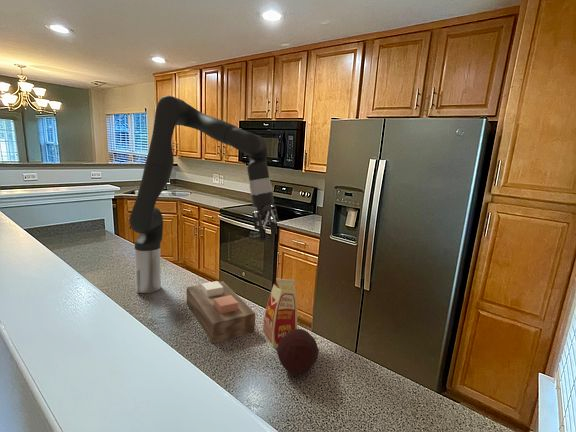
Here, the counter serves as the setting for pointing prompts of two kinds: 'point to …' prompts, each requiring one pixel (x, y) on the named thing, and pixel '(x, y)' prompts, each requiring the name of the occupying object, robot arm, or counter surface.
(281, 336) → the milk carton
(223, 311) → the salmon pink block
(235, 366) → the counter surface
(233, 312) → the block
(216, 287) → the cream square block
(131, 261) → the counter surface
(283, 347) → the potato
